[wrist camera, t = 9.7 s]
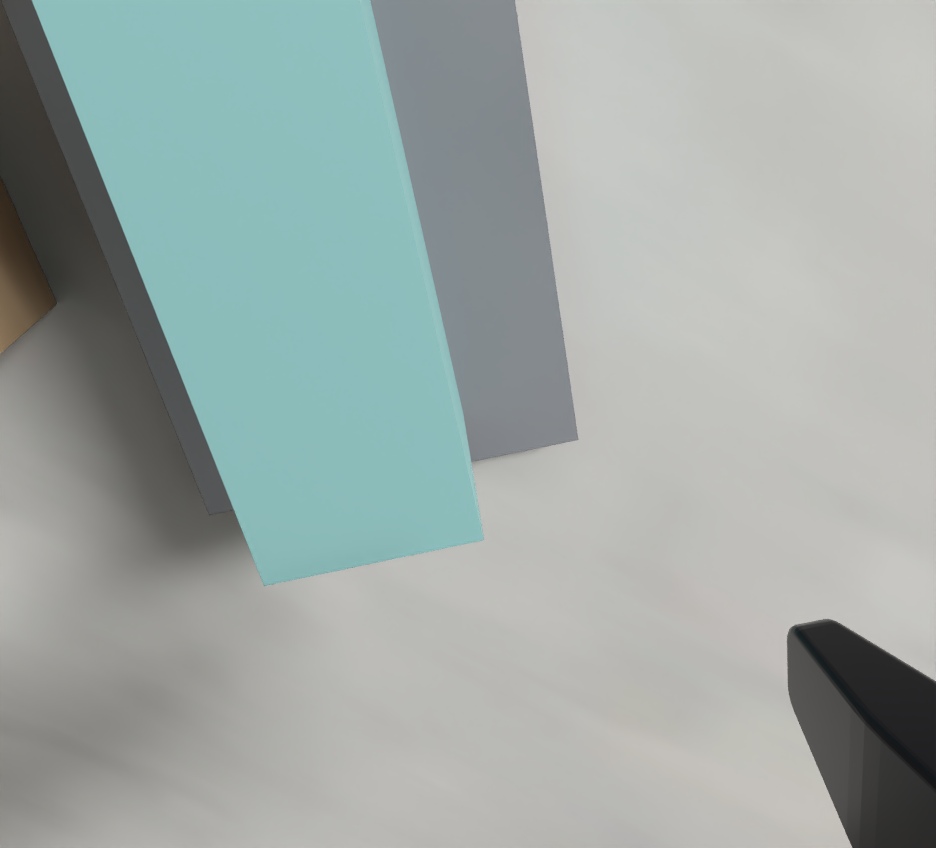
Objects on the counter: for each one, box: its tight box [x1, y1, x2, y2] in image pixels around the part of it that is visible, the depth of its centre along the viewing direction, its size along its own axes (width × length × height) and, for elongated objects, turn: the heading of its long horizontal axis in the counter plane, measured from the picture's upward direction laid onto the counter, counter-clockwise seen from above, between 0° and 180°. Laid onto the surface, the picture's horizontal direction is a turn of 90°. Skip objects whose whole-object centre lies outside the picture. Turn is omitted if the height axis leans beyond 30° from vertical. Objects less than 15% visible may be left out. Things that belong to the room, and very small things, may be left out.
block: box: [32, 0, 484, 586], centre depth 14 cm, size 12×4×5 cm, turn 11°
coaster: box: [1, 0, 578, 515], centre depth 17 cm, size 14×9×1 cm, turn 11°
